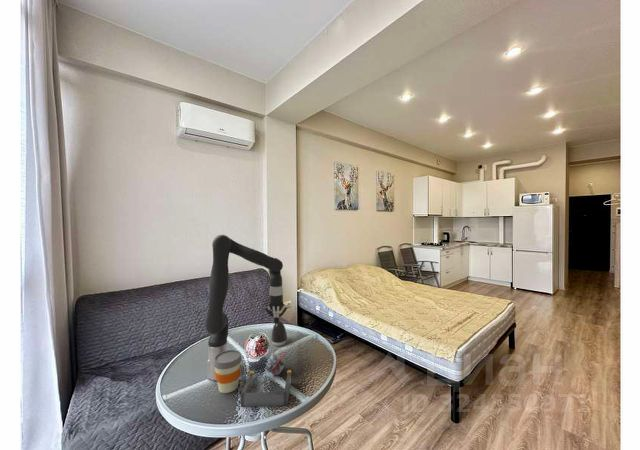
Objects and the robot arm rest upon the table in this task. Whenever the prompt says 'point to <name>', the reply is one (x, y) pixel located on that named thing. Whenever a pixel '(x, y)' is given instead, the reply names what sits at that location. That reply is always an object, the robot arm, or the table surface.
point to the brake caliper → (275, 364)
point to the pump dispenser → (279, 334)
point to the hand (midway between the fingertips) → (276, 323)
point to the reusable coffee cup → (227, 370)
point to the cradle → (265, 394)
